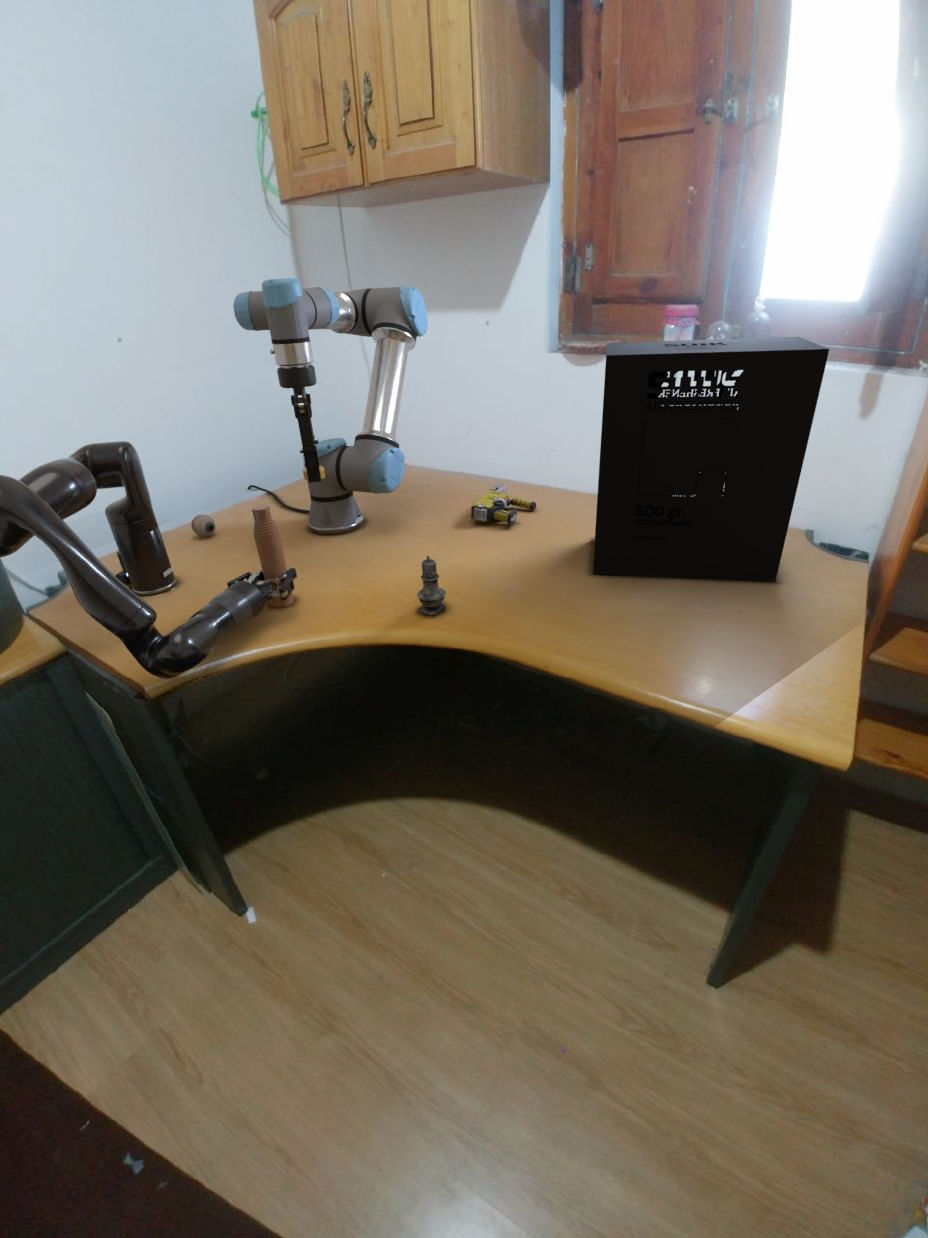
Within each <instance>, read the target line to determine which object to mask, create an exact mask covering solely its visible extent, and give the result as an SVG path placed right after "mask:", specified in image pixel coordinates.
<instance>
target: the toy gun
mask: <svg viewBox="0 0 928 1238" xmlns="http://www.w3.org/2000/svg"><path fill="white" fill-rule="evenodd" d="M509 506H513V507H517V508H519V507H520V508H521V509H527V510H530V511H535V510H536V509H537V502H536V501H532V500H531V501H529V500H526V499H521V498H517V497H513V498H512V499H510V496H509V495H508V494H507V486H506V485H505V484H502V485H501V484H500V483H497V484H496V485H495V486H493V487H492V488H491V489H489V490H488V491H487V492H486V493H485V494H484V495H483V496H481V498H479V499H478V500H477V501H476V502H475V503H474V504H473V505H471V508H470V518H471V520H473V521H475V522H476V523H483V522H484V523H491V522H495V521H501V522H504V523H507V526H508V527H509V526H510V527H511V526H512V525H514V524H515V523H516V522H517V517H518V510H516V509H513V510H511V511H510V508H508V507H509Z"/></svg>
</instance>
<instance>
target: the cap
mask: <svg viewBox="0 0 928 1238" xmlns="http://www.w3.org/2000/svg"><path fill="white" fill-rule="evenodd" d="M319 470H320V475H321V479H323V478H325V471H324V467H323V466H319ZM302 474H303V479H304V480H305V481H307V480H308V475H307V470H306V468H305V467H304V468H303V469H302Z"/></svg>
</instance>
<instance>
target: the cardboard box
mask: <svg viewBox="0 0 928 1238" xmlns="http://www.w3.org/2000/svg"><path fill="white" fill-rule="evenodd" d="M605 351H606V352H605V367H604V369H605V370H604V383H603V384H604V385H603V399H602V400H603V401H602V415H601V431H600V433H601V434H600V448H599V465H598V481H597V497H596V511H595V512H596V514H595V529H594V531H595V532H594V547H593V548H594V550H593V566H592V575H608V576H628V577H629V576H631V577H654V578H655V577H656V578H675V579H676V578H677V579H678V578H679V579H701V580H702V579H703V580H724V581H725V580H726V581H747V582H770V583H776V582H777V577H778V573H779V568H780V565H781V560H782V556H783V552H784V547H785V543H786V538H787V534H788V531H789V530H788V529H789V525H790V521H791V518H792V517H791V516H792V514H793V513H792V512H793V508H794V504H795V500H796V496H797V491H798V488H799V482H800V477H801V474H802V470H803V465H804V460H805V456H806V453H807V448H808V444H809V440H810V435H811V431H812V427H813V422H814V418H815V414H816V409H817V405H818V400H819V397H820V391H821V387H822V383H823V380H824V379H823V378H824V375H825V370H826V366H827V363H828V362H827V361H828V358H829V353H830V348H828V347H826V346H824V345H820V344H819V343H815V342H813V341H811V340H808V339H805V338H803V337H800V336H780V337H778V336H775V337H749V338H748V337H747V338H745V337H744V338H721V339H720V338H717V339H716V338H715V339H689V340H688V339H687V340H684V339H683V340H657V341H655V340H654V341H628V342H627V341H626V342H624V341H623V342H607V343H606V349H605ZM720 371H721V372H720ZM737 371H742V372H740V374H739V375H734V374H735V373H736V372H737ZM678 372H682V376H681V377H680V382H679V385H677V386H676V382H677V377H676V374H677V373H678ZM689 372H694V373H693V382H695V385H691V384H692V376H689ZM702 372H705V375H704V376H702V374H703V373H702ZM719 375H720V379H719ZM724 375H725V377H724ZM723 378H724V382H734V383H733V385H725V384H723ZM705 382H710V385H704V384H705ZM664 383H665V384H666V383H667V386H663V385H664Z"/></svg>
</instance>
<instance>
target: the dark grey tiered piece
mask: <svg viewBox="0 0 928 1238" xmlns="http://www.w3.org/2000/svg"><path fill="white" fill-rule="evenodd" d="M437 570H438V569H437V562H436V560H434V559H432V558H431V557H430V555H427V556H426V559H424V560H423V561H422V562H421V572H422V573H421V576H420V579H421V580H422V588H421V589H419V590H418V592H417V594H416V597H417V598H418V600H419V602H420V604H421V606H420V607H419V612H420V613H421V614H423V615H427V616H436V615H440V614H442V613H443V612H445V611H446V605H445V604H444V603H443V602H444V600H445V596H446V595H447V591H446V590H445V589H444V588H442V587H439V578H440V575H439V573H438V571H437Z"/></svg>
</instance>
